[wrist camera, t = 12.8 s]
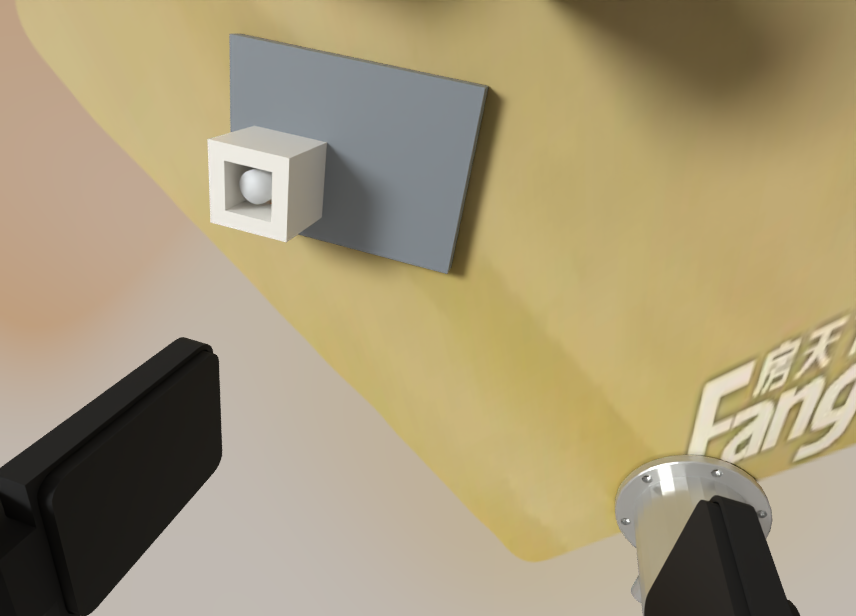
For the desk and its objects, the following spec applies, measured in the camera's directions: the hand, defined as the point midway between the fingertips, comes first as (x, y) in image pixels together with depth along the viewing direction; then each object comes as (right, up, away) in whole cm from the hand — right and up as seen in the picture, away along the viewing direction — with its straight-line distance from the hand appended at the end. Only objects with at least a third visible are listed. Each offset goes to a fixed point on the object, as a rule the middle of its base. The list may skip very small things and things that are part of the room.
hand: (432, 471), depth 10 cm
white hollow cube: (-11, +14, +33) cm, 37 cm away
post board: (-6, +15, +32) cm, 36 cm away
